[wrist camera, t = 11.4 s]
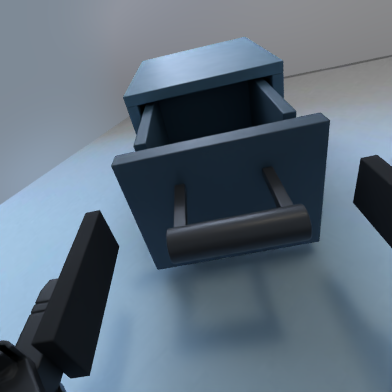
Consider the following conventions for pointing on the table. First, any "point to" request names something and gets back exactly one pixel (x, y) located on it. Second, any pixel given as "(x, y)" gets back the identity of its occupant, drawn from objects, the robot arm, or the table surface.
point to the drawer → (225, 174)
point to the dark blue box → (201, 73)
